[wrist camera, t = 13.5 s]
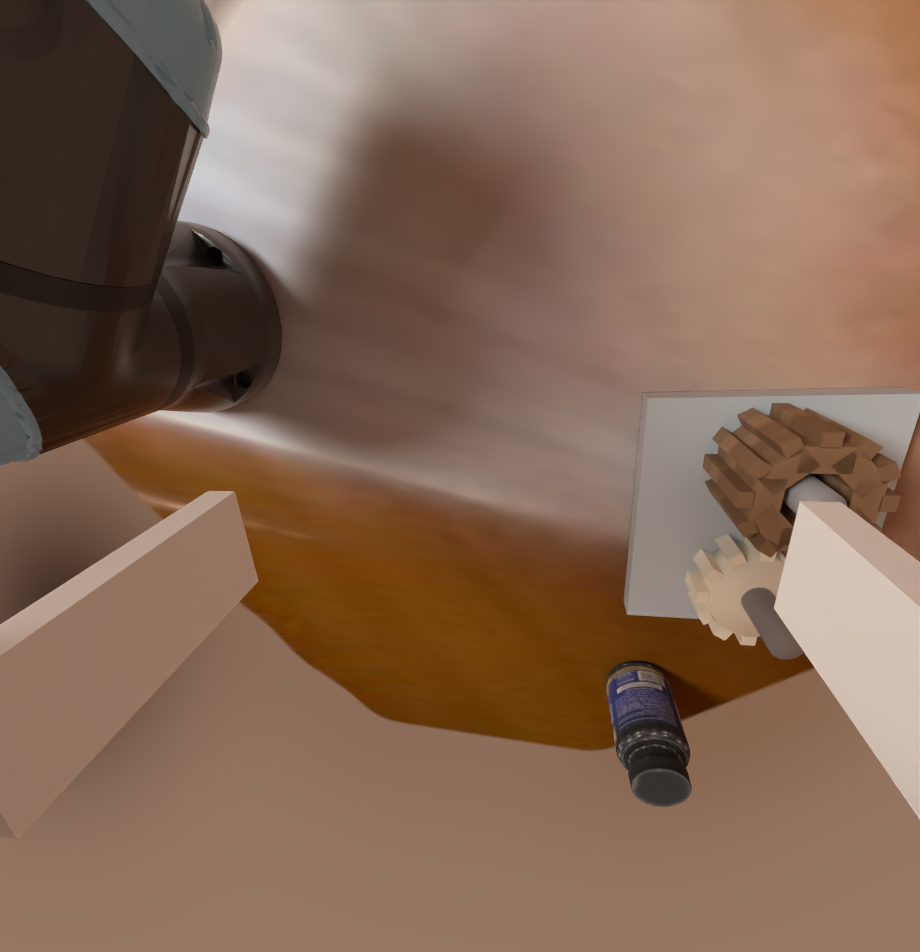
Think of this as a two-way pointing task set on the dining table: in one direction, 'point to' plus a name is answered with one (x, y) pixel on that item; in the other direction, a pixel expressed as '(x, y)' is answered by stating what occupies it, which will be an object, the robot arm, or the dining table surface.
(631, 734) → the pill bottle
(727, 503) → the walnut gear
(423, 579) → the dining table surface
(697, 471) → the gear board
